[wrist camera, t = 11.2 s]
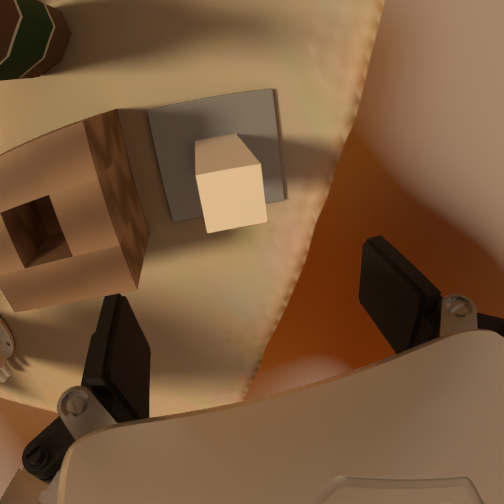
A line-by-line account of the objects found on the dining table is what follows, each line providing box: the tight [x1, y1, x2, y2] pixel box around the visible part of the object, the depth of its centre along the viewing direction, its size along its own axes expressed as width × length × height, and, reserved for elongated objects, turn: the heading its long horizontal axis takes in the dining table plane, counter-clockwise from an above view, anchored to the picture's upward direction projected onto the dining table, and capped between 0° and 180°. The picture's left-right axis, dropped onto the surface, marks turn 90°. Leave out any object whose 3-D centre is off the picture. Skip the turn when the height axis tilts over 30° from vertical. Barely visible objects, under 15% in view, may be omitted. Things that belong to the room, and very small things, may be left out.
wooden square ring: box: [0, 109, 149, 312], centre depth 25 cm, size 14×14×10 cm
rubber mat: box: [147, 89, 284, 222], centre depth 30 cm, size 12×12×1 cm
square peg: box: [195, 134, 267, 233], centre depth 25 cm, size 4×4×12 cm
